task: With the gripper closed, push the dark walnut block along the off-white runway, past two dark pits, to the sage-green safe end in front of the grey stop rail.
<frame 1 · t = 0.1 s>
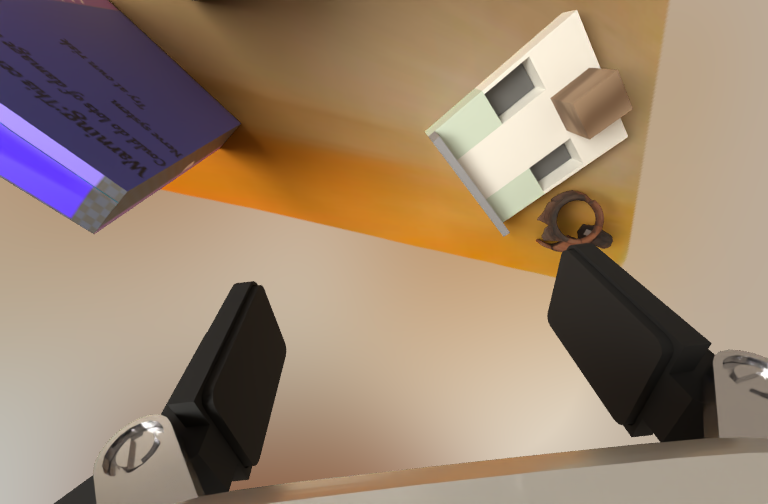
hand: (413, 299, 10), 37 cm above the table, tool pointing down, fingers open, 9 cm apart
block: (577, 100, 40), point 3 cm above the table, touching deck
brown curved piece: (561, 218, 52), on the table
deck: (520, 131, 44), on the table
blue rectangular box: (168, 80, 39), on the table
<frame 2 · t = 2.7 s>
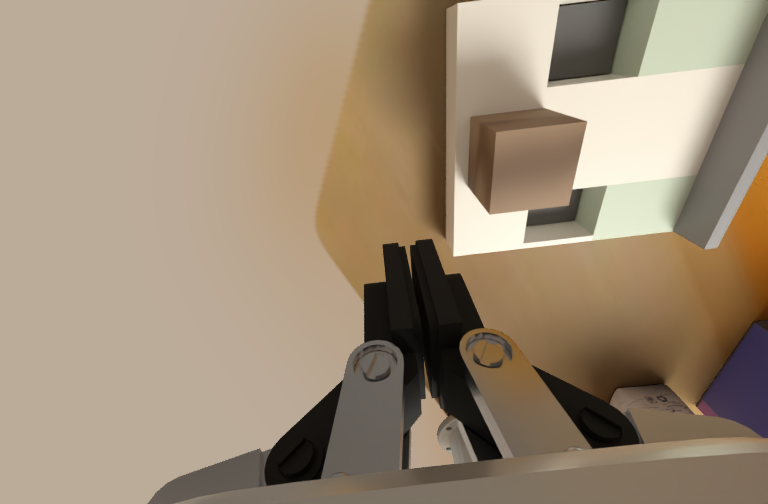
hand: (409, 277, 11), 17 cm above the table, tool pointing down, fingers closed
block: (503, 149, 23), point 3 cm above the table, touching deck
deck: (570, 130, 26), on the table
blue rectangular box: (737, 364, 44), on the table
juice carton: (628, 401, 47), on the table
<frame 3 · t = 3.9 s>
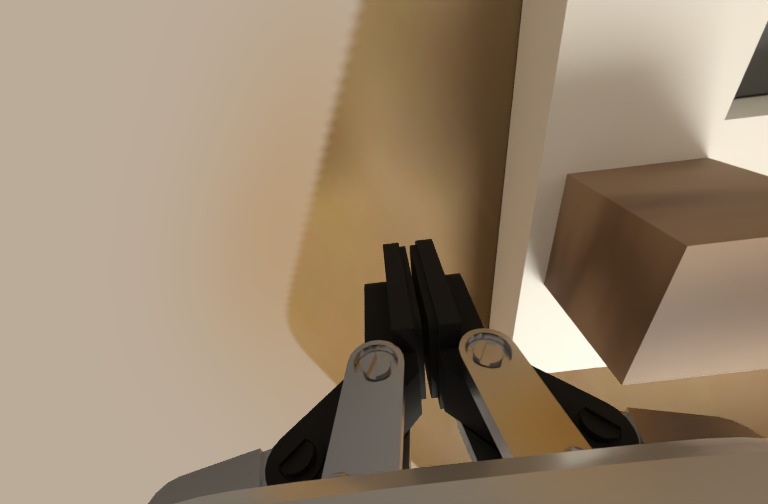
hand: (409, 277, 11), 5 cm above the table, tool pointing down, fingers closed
block: (617, 227, 13), point 3 cm above the table, touching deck
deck: (711, 182, 15), on the table
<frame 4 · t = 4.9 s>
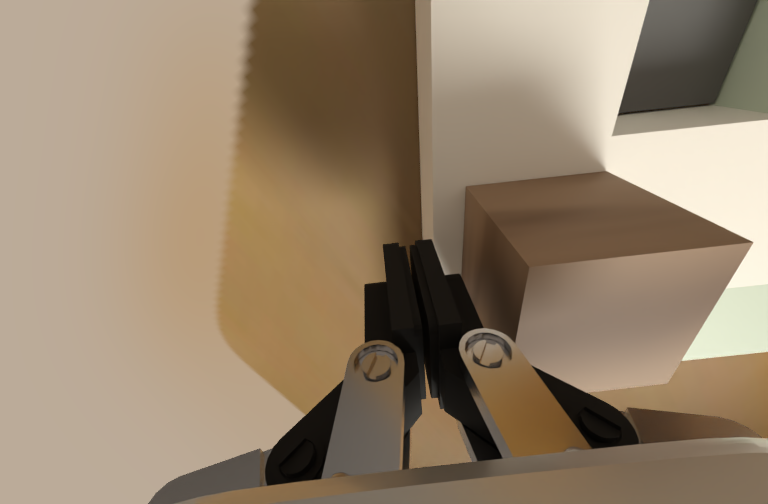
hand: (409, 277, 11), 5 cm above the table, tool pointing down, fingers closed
block: (525, 239, 13), point 3 cm above the table, touching gripper
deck: (631, 194, 15), on the table
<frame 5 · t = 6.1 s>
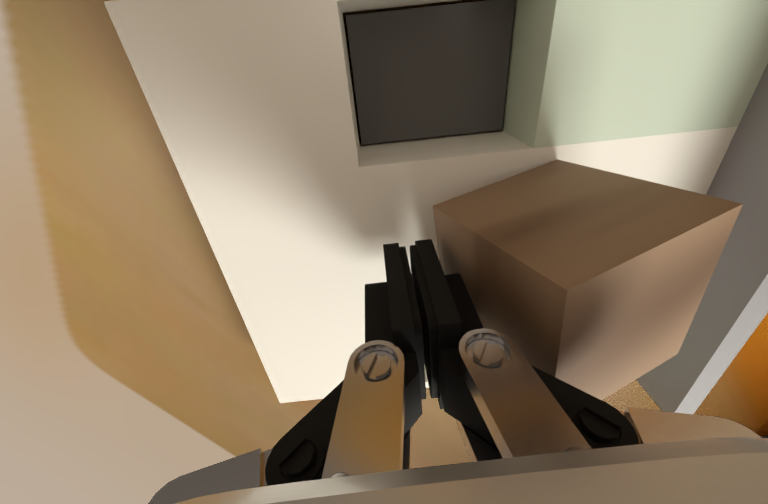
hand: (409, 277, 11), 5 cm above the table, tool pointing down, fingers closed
block: (498, 244, 12), point 4 cm above the table, tilted 19°, touching gripper
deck: (452, 215, 15), on the table
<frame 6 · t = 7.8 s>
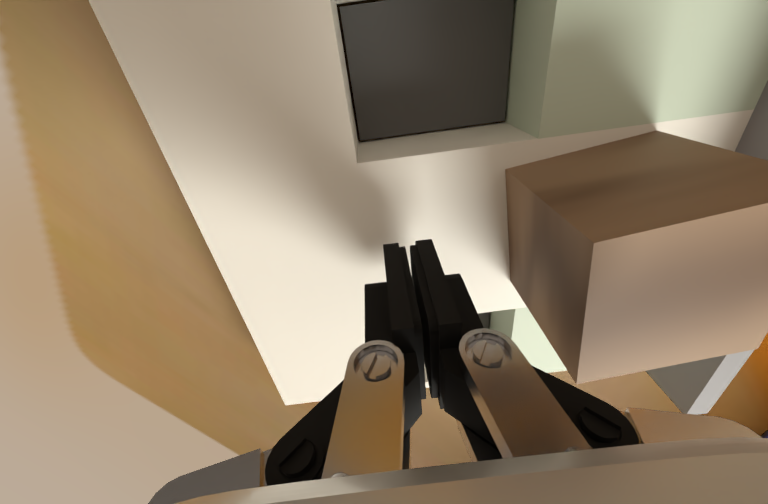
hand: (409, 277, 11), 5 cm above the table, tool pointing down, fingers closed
block: (574, 215, 12), point 3 cm above the table, touching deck
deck: (455, 211, 15), on the table
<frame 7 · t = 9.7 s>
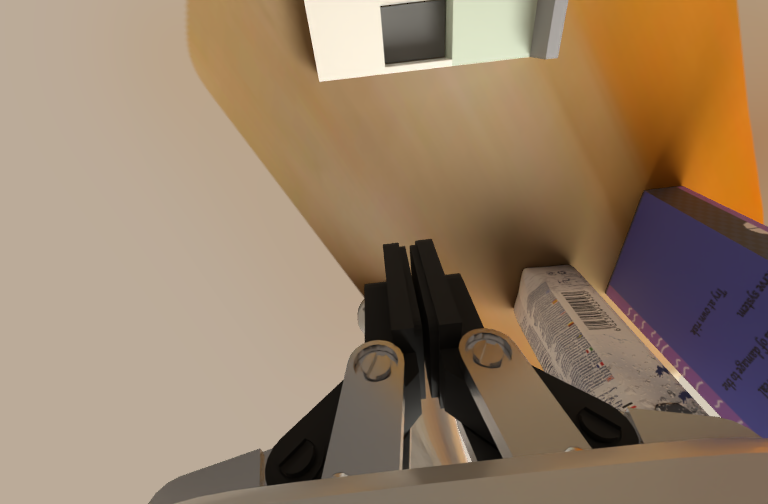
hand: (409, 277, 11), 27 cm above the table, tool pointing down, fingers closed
blue rectangular box: (638, 244, 46), on the table
juice carton: (539, 286, 49), on the table
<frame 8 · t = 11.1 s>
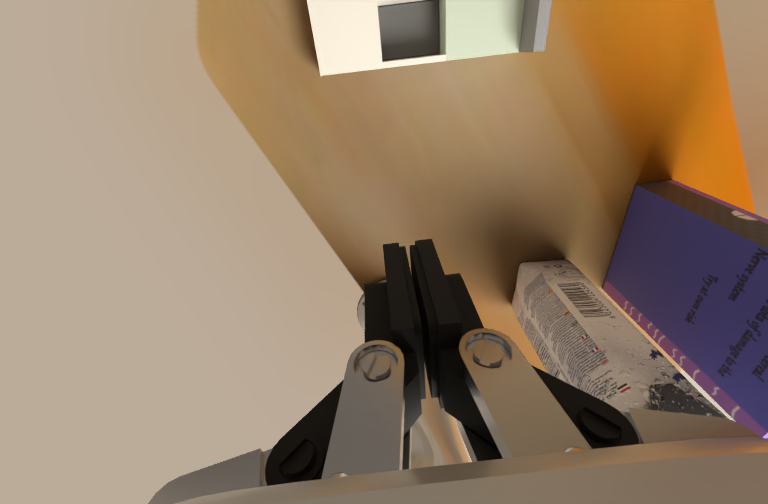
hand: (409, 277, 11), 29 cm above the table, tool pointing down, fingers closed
blue rectangular box: (632, 238, 47), on the table
juice carton: (536, 281, 50), on the table
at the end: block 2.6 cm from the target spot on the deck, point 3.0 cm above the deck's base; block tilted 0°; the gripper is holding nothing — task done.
